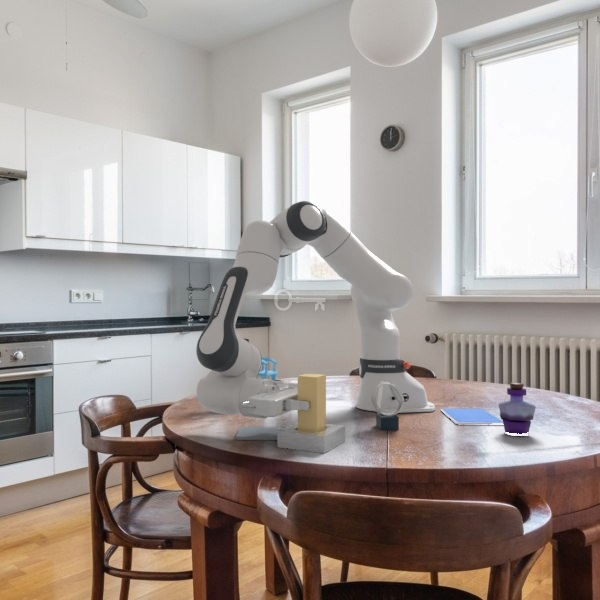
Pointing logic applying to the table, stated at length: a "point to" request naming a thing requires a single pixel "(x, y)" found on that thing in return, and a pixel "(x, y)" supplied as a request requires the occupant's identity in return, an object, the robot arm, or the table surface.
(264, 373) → the chair
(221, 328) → the robot arm
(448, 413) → the tablet computer
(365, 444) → the table surface
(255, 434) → the slate mat
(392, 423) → the glass trophy
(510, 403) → the potion bottle
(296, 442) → the socket block
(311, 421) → the ochre peg
